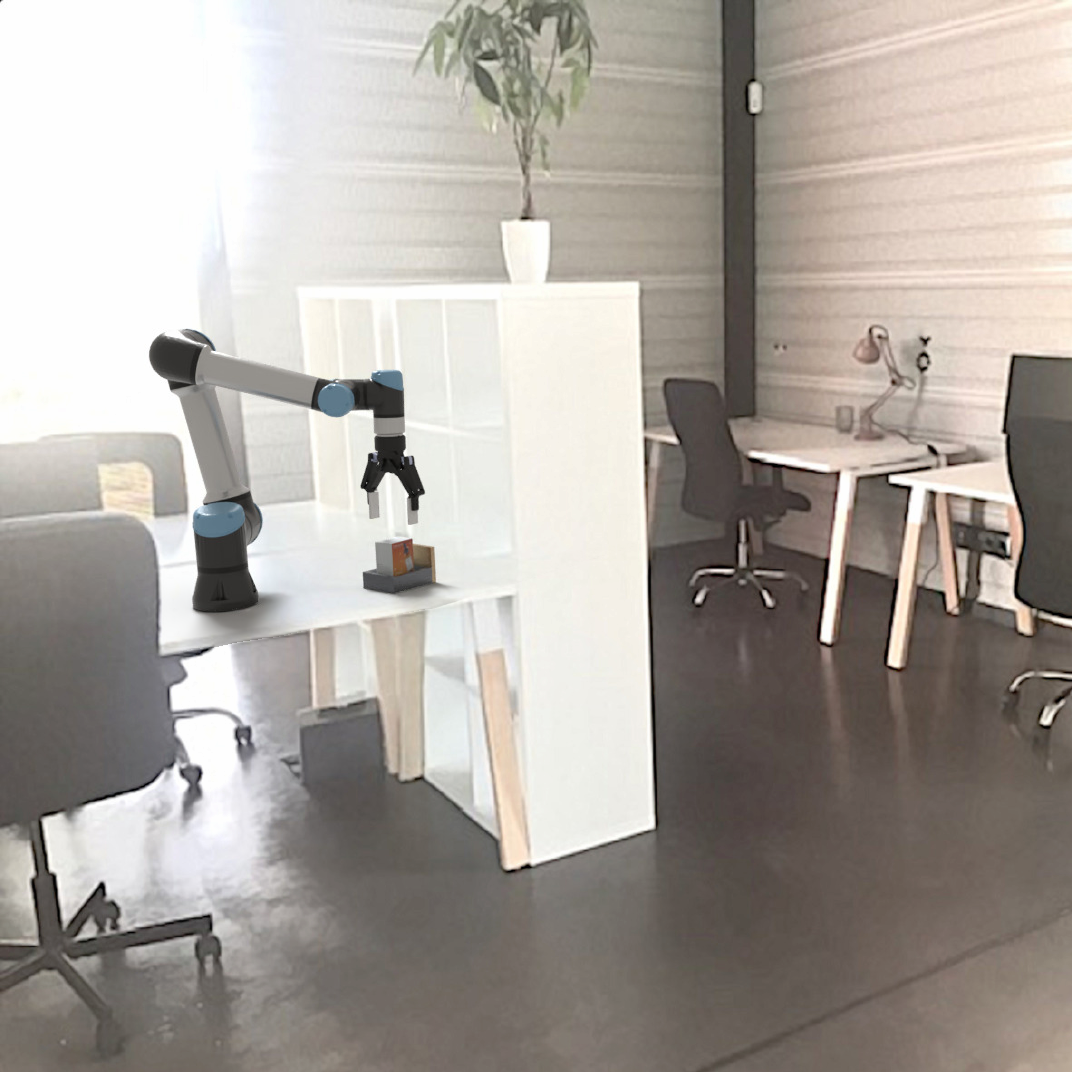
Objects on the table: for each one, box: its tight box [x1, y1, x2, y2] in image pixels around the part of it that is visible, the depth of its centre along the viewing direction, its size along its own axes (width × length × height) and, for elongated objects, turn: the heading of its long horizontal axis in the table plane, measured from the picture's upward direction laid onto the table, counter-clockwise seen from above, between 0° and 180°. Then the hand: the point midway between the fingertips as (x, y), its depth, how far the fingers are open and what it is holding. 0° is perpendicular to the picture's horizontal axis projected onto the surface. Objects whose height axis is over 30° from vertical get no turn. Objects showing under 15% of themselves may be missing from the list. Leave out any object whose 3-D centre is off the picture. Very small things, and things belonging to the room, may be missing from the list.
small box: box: [374, 536, 414, 576], centre depth 292 cm, size 8×6×10 cm
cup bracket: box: [362, 543, 437, 595], centre depth 292 cm, size 11×14×9 cm
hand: (393, 521), depth 289 cm, fingers open, 13 cm apart
